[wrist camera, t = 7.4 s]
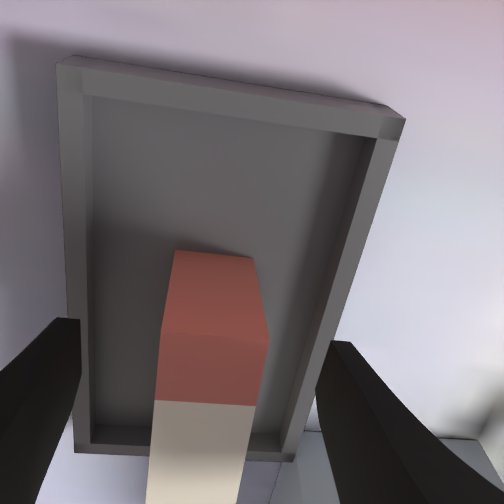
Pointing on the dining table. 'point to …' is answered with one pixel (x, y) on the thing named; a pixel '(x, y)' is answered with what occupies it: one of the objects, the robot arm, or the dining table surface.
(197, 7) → the dining table surface
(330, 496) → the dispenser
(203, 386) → the pink-topped cream pillar
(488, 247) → the dining table surface
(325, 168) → the tray
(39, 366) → the robot arm
